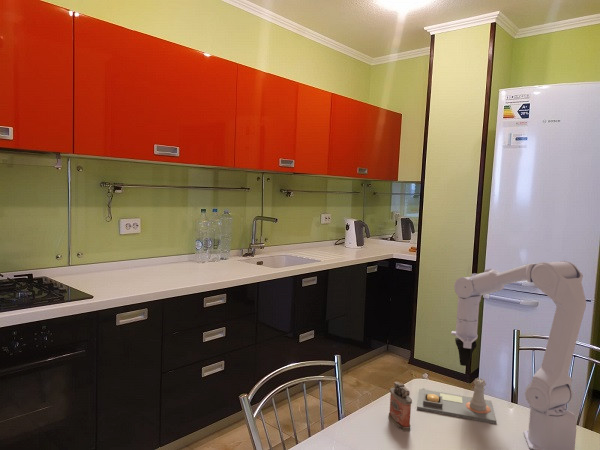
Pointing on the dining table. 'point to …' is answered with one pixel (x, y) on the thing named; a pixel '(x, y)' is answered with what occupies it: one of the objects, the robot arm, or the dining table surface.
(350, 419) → the dining table surface
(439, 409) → the grey board
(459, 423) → the dining table surface
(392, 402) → the lighter
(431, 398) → the button
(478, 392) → the rook chess piece
